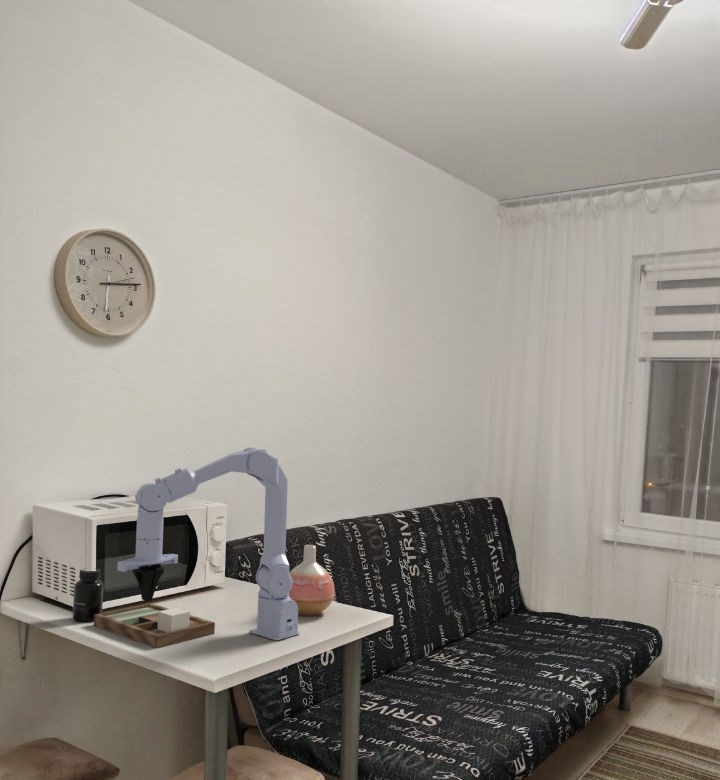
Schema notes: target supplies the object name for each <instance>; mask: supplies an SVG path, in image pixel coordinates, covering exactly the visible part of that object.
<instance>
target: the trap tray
mask: <svg viewBox="0 0 720 780" xmlns="http://www.w3.org/2000/svg"><path fill="white" fill-rule="evenodd" d="M168 609H169V608H168V607H164V606H161V605H158V604H155V603H151V602H149V603H146V604H141V605H135V606H134V605H133V606H130V607H124V608H119V609H116V610H110V611H109V610H108V611H105V612H102V613H99V614H94V622H93V626H94V627H96V628H100V629H103V630H104V631H105V630H106V631H108V632H110V633H114V634H116V635H120V636H121V637H125V638H127V639H131V640H133V641H135V642H139V643H141V644H144V645H147V646H150V647H153V648H156V649H160V648H163V647H168V646H172V645H175V644H176V645H177V644H180V643H183V642H187V641H191V640H195V639H199V638H203V637H207V636H210V635H211V636H212V635H215V632H216V631H215V630H216V629H215V628H216V625H215V624H216V623H215V622H214V621H212V620H207V619H205V618H203V617H202V618H201V617H197V616H195V615H192V614H190V619H189V627H188V628H184V629H179V630H175V631H171V632H164V631H161V630H158V612H159V611H163V610H168Z"/></svg>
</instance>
